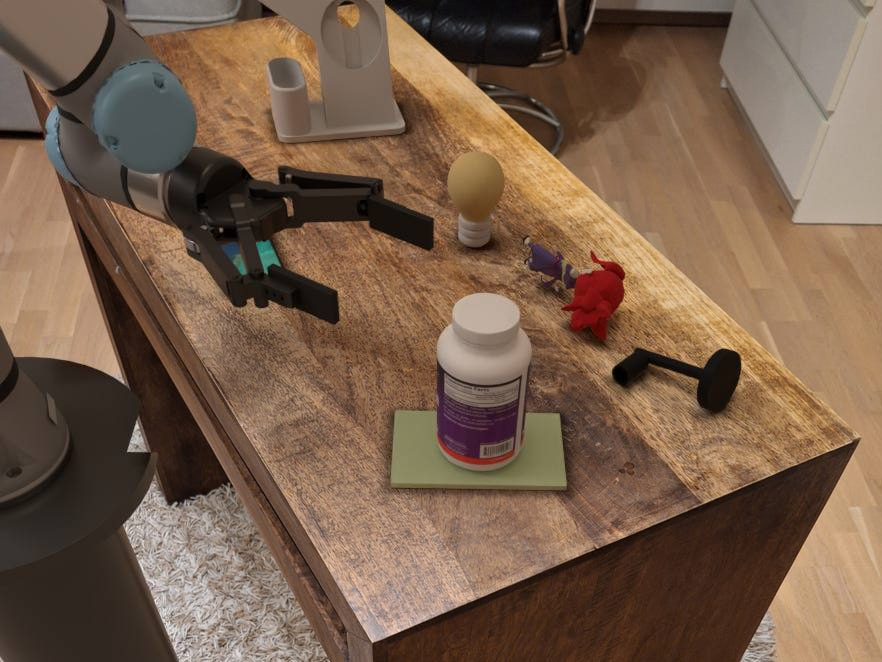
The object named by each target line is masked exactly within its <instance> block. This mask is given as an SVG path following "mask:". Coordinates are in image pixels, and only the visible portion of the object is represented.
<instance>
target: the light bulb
mask: <svg viewBox="0 0 882 662" xmlns="http://www.w3.org/2000/svg"><path fill="white" fill-rule="evenodd" d="M446 183H447V184H446V185H447V192H448V195H449V198H450V200H451V202H452V203H453V205H454V206H455V207H456V209H457V210H458V211H459V214H458V225H457V226H458V227H457V229H458V233H457V237H458V240H459V241H460V243H462V244H463V245H464V246H466V247H470V248H480V247H483V246H484V245H487V244H488V243H489V241H490V239H491V227H492V225H491V222H492V216H491V213H492V212H493V211H494V210H495V208H496V207H497V206H498V204H499V203H500V202H501V200H502V197H503V195H504V192H505V186H506V185H505V184H506V182H505V173H504V170H503V168H502V166H501V164H500V162H499V160H497V158H495V156H493V155H491V154H489V153H486V152H483V151H476V150H473V151H467V152H464V153H462V154H461V155H459V156H458V157H457V158H456V159H455V160H454V161H453V163H452V165H451V166H450V169H449V171H448V175H447V181H446Z"/></svg>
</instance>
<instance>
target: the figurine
mask: <svg viewBox="0 0 882 662" xmlns="http://www.w3.org/2000/svg"><path fill="white" fill-rule="evenodd" d="M531 238H532V236H531V235H526V236H524V237H523V238H522V244H523V245H526V246H528V247H529V248H530V250H529V252H528V256H527V258H525V260H524V262H523V263H524V265H525V266H528V269H529V271H531V272H535V273H540V274H543V275H545V276H548V277H551V278H552V279H550V280H548V281H543V276H542V275H540V280H541V285H542V288H543V289H545V290H546V289H549V288H551V287H552V286H553V285H555V283H556V282H557V281H560V282H562V283H563V284H561V285H559V286H556V287H554V289H555V292H556V293H559V291H564V290H573V299H572V301H571V303H569V304H567V305H565V306H563V307H561V308H560V310H561V311H564V312H572V313H571V316H570V322H569V323H570V324H569V328H570V329H571V330H572V332H573V333H576V334H577V333H579V332H581V331H582V330H584V329H585V327H589V328H590V330H591V331H592V333H593V334H594V335H595V336H596V337H597V338H599V339H600V340H601V341H607V339H608V338H607V337H608V336H607V330H608V319H610V318H612V317H613V315H614V314H615V312H616V311H617V310H618V309H619V307H620V305H621V304H622V303H623V301H624V297H625V292H626V289H625V286H624V280H625V278H626V274H627V273H626V272H625V270H624V268H623V267H622V266H621V265H620V264H618V263H617V262H615V261H609V260H608V261H607V260H606V261H604V260H600V259H599V258H598V257H597V255H596V254H595V252H594V251H593V250H590V251H589V257H590V259H591V261H592V262H593V264H598V265H599V266H600V267H601V268H602V269H596V270H595V269H593V268H584V269H583V270H582V271H581V272H580V273H579V272H578V270H577V269H576V268H575V267H573V266H572V264H570V263H569V262H568V261H567V260H566V258H565V256H564V255H563V254H562V253H561V251H559V249H558V246H557V245H555V244H553V245H552V248H553V250H554V251H555V253H556V254H557V255H555V254H553V253H552V252H551V251H549V250H548V249H546V248H545V247H543V246H542V245H541V244H539V243H533V242H531ZM530 255H531V256H530Z"/></svg>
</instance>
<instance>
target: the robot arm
mask: <svg viewBox="0 0 882 662" xmlns="http://www.w3.org/2000/svg"><path fill="white" fill-rule="evenodd" d="M0 52H1V53H2V54H4V55H5V56H6V57H7V58H8V59H10V60H11V61H12V62H13V63H14V64H15V65H16V66H17V67H19V69H20V70H22V71H24V72H25V73H26V74H27V75H28V76H29V77H30V78H32V80H34V81H35V82H36V83H38V84H39V85H40V86H41V87H42V88H43V89H44V90H45V91H46V92H48V94H49V95H50V96H52V97H53V98H54V99H55V106H54V107H53V108H52V109H51V111H50V112H49V114H48V116H47V118H46V122H45V125H44V126H45V129H46V130H45V131H46V132H45V140H44V147H45V152H46V155H47V158H48V160H49V162H50V163H51V165H52V167H53V168H54V170H55V171H56V172H57V173H58V174H59V175H60V176H61V178H63V179H65V180H66V181H68V182H70V183H71V184H73V185H75V186H77V187H79V188H80V189H82V190H83V191H85V192H86V193H87V194H89V195H91V196H92V197H93V196H94V197H95V198H98V199H103V200H106V201H108V202H111V203H114V204H117V205H119V206H122V207H125V208H128V209H130V210H133V211H135V212H136V213H138V214H140V215H142V216H145V217H147V218H151V219H153V220H155V221H157V222H160V223H162V224H164V225H166V226H169V227H171V228H173V229H175V230H178V231H180V232H181V233H182V236H183V242H184V246H185V250H186V254H187V256H188V257H190V258H192V259H194V260H195V261H197V262H199V263H200V264H202V265H203V267H204V269H205V270H206V271H207V273H208V274H209V275H210V276H211V278H212V280H214V282H215V283H216V284H217V286H218V287H219V289H220V290H221V291H222V293H223V294H224V295H225V297H226V299H228V301H229V302H230V304H231V305H232V307H234V308H239V309H240V308H244V307H246V306H247V305H248V301H249V300H251V299H253V303H254V306H255V308H258V309H265V308H268V307H269V306H270V302H272V303H274V304H276V305H278V306H280V307H283V308H285V309H290V310H293V309H296V310H298V311H301V312H302V313H306V314H308V315H310V316H312V317H313V318H314V317H315V318H317V319H318V320H321V321H323V322H325V323H328V324H330V325H332V326H336V325H337V324H338V323H339V322H340V321H341V317H340V316H341V315H340V305H339V293H338V290H336V289H334V288H332V287H329V286H327V285H325V284H323V283H321V282H318V281H315V280H313V279H311V278H309V277H306V276H304V275H301V274H299V273H297V272H294V271H292V270H290V269H288V268H285V267H284V268H283V267H281V266H278V265H276V264H274V263H273V264H271V265H270V266H268V267H267V271H268V274H267V273H264V268H263V265H262V261H261V258H260V255H259V252H258V248H257V245H256V242H260V241H263V242H266V241H267V240H269V239H270V238H271V239H272V237H273V236H274V235H276V234H277V233H280V232H282V231H284V230H286V229H287V230H289V229H301V228H302V227H303V226H304V224H311V223H312V224H313V223H314V224H315V223H346V222H368V225H369V229H372V230H375V231H377V232H381V233H383V234H384V235H387V236H390V237H393V238H394V239H397V240H400V241H402V242H404V243H407V244H410V245H413V246H415V247H417V248H420V249H422V250H424V251H428V252H431V250H433V249H434V246H435V234H434V233H435V218H434V217H432V216H431V215H427V214H426V213H425V214H424V213H422V212H420V211H416V210H414V209H411V208H409V207H407V206H405V205H403V204H401V203H398V202H396V201H393V200H390V199H388V198H386V197H385V191H384V190H385V189H384V188H385V187H384V180H383V179H382V178H379V177H371V176H362V175H361V176H360V175H351V174H343V173H341V174H340V173H331V172H323V171H321V172H319V171H313V170H312V171H311V170H302V169H299V168H296V167H292V166H289V165H279V166H278V167H277V169H276V170H277V176H278V177H277V178H276V179H275V180H273V181H270V180H260V179H256V178H254V177H253V176H252V174H250V172H249V171H248V169H246V167H245V166H244V165H243V164H242V163H241V161H239V160H237V159H236V158H235V157H232V156H229V155H227V154H224V153H222V152H219V151H217V150H214V149H212V148H209V147H206V146H203V145H202V144H201V143H198V142H196V138H197V133H198V117H197V113H196V108H195V106H194V103H193V101H192V99H191V96H190V94H189V93H188V92H187V90H186V89H185V87H184V86H183V81H182V80H181V78H179V76H178V75H177V74H176V73H175V72H174V71H172V69H170V68H169V66H168V65H166V64H165V63H164V61H163V60H162V59H161V58H160V57H159V56H158V54H157V53H156V52H155V51H154V50H153V49H152V48H151V47H150V45H148V43H147V41H146V40H145V39H144V38H143V36H142V35H141V34H140V33H139V32H138V30H137V29H136V28H135V26H133V24H132V23H131V21H129V20H128V19H127V16H126V13H125V8H124V2H123V0H0ZM285 199H287V201H288V203H291V205H292V213H293V214H292V215H289V213H288V212H289V211H288V205H287V202H286V201H285ZM231 242H237V245H238V247H239V251H240V254H241V258H242V259H243V263H244V266H245V270H246V273H247V274H244V275H242V274H241V273H240V271H239V270H238V269H237V267H236V266H235V265H234V264H233V262H232V261H231V260H230V258H229V257H228V256H227V254H226V253H225V252H224V251H223V249H222V248H221V247H220V246H224V245H227V244H229V243H231ZM15 357H16V356H14V353H13V351H12V348H11V346H10V344H9V341H8V339H7V338H6V335H5V333H4V330H3V328H2V326H1V325H0V510H2V509H5V508H8V507H11V506H14V505H16V504H19V503H21V502H23V501H25V500H27V499H29V498H31V497H33V496H35V495H36V494H38V493H39V492H41V491H42V490H44V489H45V488H46V487H48V486H49V485H50V484H51V483H52V482H53V481H54V480H55V479H56V478H57V477H58V476H59V475H60V474H61V473H62V471H63V470H64V469H65V467H66V465H67V463H68V461H69V459H70V456H71V453H72V447H73V441H72V436H71V433H70V430H69V428H68V425H67V423H66V421H65V419H64V417H63V415H62V414H61V413H60V411H59V409H58V408H57V407H56V406H55V403H54V400H53V398H52V397H51V396H50V395H49V394H48V393H47V397H46V396H45V395H44V394H43V393H42V392H41V391H40V390H39V389H38V387H37V386H36V385H35V384H34V383H33V382H32V381H31V380H30V379H29V378H28V377H27V376H26V375H25V373H24V372H23V371H22V370H21V369H20V368H19V366H18V364H17V362H16V360H15Z"/></svg>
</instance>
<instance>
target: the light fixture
mask: <svg viewBox="0 0 882 662" xmlns="http://www.w3.org/2000/svg"><path fill="white" fill-rule="evenodd" d="M742 364H743V363H742V358H741V355H740V354H739V352H738V351H736V350H732V349H729V348H724V347H722V348H719V349H718V350H715V352H713V353H712V354H711V356H710V357H709V358H708V360H706V363H704V366H703V367H700V366H697V365H694V364H692V363H691V364H690V363H688V362H684V361H681V360H679V359H675V358H673V357H669V356H666V355H664V354H660V353H657V352H654V351H651V350H648V349H645V348H642V347H638V346H637V347H636V348H635V349H634V350H633V352H632V353H630V354H629V355H628V356H627V357H625V358H624V359H622V360H621V361H620V362H618V363H617V364H616V365H614V366H613V367H612V369H611V376H612V378H611V379H613V382H612V384H614V383H616V384H618V385H619V386H621V387H626V386H628V385H629V384H630V383H631V382H633V381H634V380H635V379H636V378H638V377H639V376H641V375H642V374H643V373H645V372H646V371H648V369H649V365H653V366H655V367H658V368H661V369H665V370H666V371H667V370H668V371H671V372H673V373H677V374H679V375H682V376H685V377H689V378H692V379H695V380H697V381H698V382H697V387H696V401H697V404H698V406H699V407H700V408H702V409H703V410H706V411H708V412H709V411H710V412H712V413H714V412H715V413H716V412H719V411H720V410H722V409H723V408H724V407H725V406H726V405H727V404H728V403H729V401H730V400H731V398H733V395H734V393H735V391H736V389H737V387H738V384H739V381H740V379H741V378H740V377H741V373H742ZM611 379H610V380H611ZM607 382H609V380H607V381H606V383H607ZM597 390H598V389H595V391H597ZM593 392H594V391H593ZM593 392H592V393H590V395H593ZM588 399H589V400H593V398H591V397H588Z"/></svg>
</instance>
